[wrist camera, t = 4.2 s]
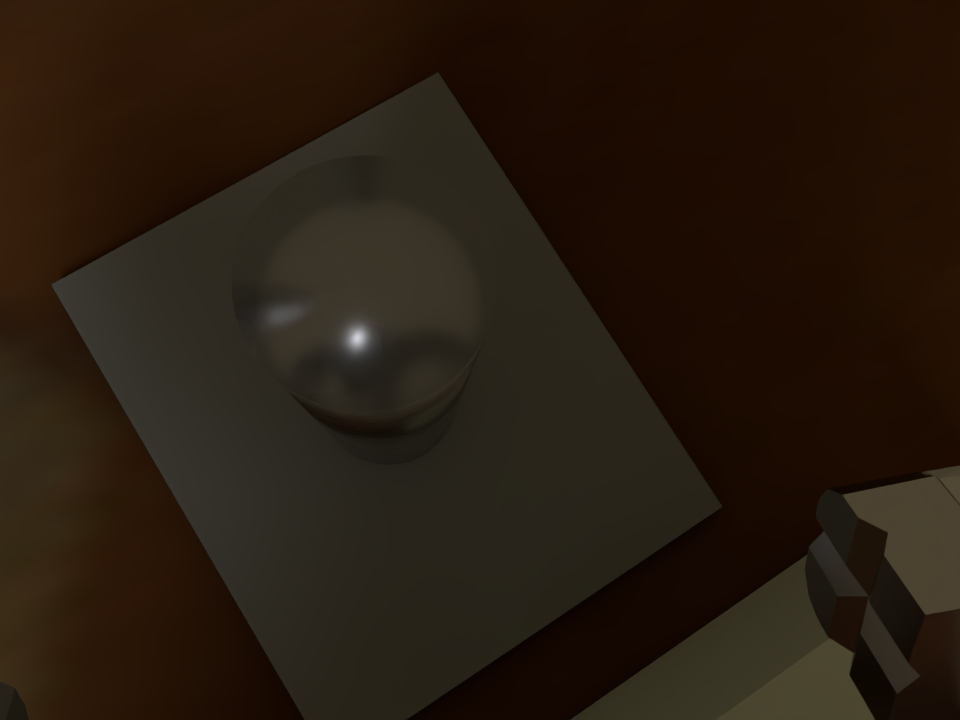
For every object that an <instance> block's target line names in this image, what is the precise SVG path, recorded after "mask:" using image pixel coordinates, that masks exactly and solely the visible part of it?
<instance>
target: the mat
mask: <svg viewBox="0 0 960 720" xmlns="http://www.w3.org/2000/svg"><path fill="white" fill-rule="evenodd" d="M360 155H368V156H382V157H388V158H393V159H398V160H401V161H405V162H408V163H411V164H414V165H416V166H418V167H421V168H423V169H425V170H427V171H429V172H431V173H432V174H434V175H436V176H437V177H439V178H441V179H442V180H444V181H445V182H446V183H447V184H448V185H450V186H451V187H452V188H453V189H455V190H456V191H457V192H458V193H459V194H460V195H461V196H462V197H463V198H464V199H465V200H466V202H467V203H468V204H469V205H470V207H471V208H472V209H473V211H474V212H475V213H476V215H477V216H478V218H479V220H480V222H481V224H482V225H483V227H484V229H485V231H486V234H487V236H488V239H489V241H490V244H491V247H492V251H493V255H494V259H495V266H496V275H497V290H496V300H495V306H494V312H493V315H492V318H491V321H490V325H489V328H488V330H487V333H486V336H485V338H484V341H483V343H482V346H481V349H480V351H479V354H478V356H477V359H476V362H475V364H474V367H473V369H472V372H471V374H470V377H469V380H468V382H467V385H466V387H465V390H464V393H463V395H462V398H461V400H460V403H459V406H458V408H457V411H456V413H455V416H454V419H453V421H452V423H451V425H450V428H449V430H448V431H447V433H446V434H445V436H444V437H443V438H442V440H441V441H440V442H439V443H438V444H437V445H436V446H435V447H434V448H433V449H432V450H430V451H429V452H427V453H426V454H424V455H423V456H421V457H419V458H417V459H414V460H412V461H409V462H405V463H401V464H391V465H389V464H377V463H372V462H369V461H365V460H363V459H361V458H358V457H356V456H354V455H353V454H351V453H350V452H348V451H347V450H346V449H345V448H343V447H342V446H341V445H340V444H339V443H338V442H337V441H336V440H335V439H334V438H333V437H332V436H331V435H330V434H329V433H328V432H327V431H326V430H325V429H324V428H323V427H322V426H321V425H320V424H319V423H318V422H317V421H316V420H315V419H314V418H313V417H312V416H311V415H310V414H309V413H308V412H307V411H306V410H305V409H304V408H303V407H302V406H301V405H300V404H299V403H298V402H297V401H296V400H295V399H294V398H293V397H292V396H291V394H290V393H289V392H288V391H287V390H286V389H285V388H284V387H283V386H282V385H281V384H280V383H279V382H278V381H277V380H276V379H275V378H274V377H273V376H272V375H271V374H270V373H269V372H268V371H267V370H266V369H265V368H264V367H263V366H262V365H261V363H260V362H259V361H258V360H257V358H256V357H255V355H254V354H253V352H252V351H251V350H250V348H249V346H248V344H247V342H246V341H245V339H244V337H243V335H242V333H241V330H240V327H239V324H238V321H237V318H236V315H235V310H234V305H233V300H232V285H231V281H232V268H233V262H234V257H235V253H236V248H237V246H238V243H239V240H240V237H241V235H242V232H243V231H244V229H245V227H246V225H247V223H248V221H249V219H250V217H251V216H252V215H253V213H254V212H255V210H256V209H257V208H258V206H259V205H260V204H261V203H262V201H263V200H264V199H265V198H266V197H267V196H268V195H269V194H270V193H271V192H272V191H273V190H274V189H276V188H277V187H278V186H279V185H280V184H281V183H283V182H284V181H285V180H287V179H289V178H290V177H292V176H293V175H295V174H296V173H298V172H300V171H302V170H304V169H306V168H308V167H310V166H313V165H315V164H318V163H321V162H324V161H327V160H331V159H336V158H341V157H346V156H360ZM51 285H52V287H53V289H54V290H55V292H56V294H57V296H58V297H59V299H60V301H61V302H62V304H63V306H64V308H65V309H66V311H67V313H68V314H69V316H70V318H71V320H72V321H73V323H74V325H75V326H76V328H77V330H78V332H79V333H80V335H81V337H82V338H83V340H84V342H85V344H86V345H87V347H88V349H89V350H90V352H91V354H92V356H93V357H94V359H95V361H96V362H97V364H98V366H99V368H100V369H101V371H102V373H103V375H104V376H105V378H106V380H107V381H108V383H109V385H110V387H111V388H112V390H113V392H114V393H115V395H116V397H117V399H118V400H119V402H120V404H121V405H122V407H123V409H124V411H125V412H126V414H127V416H128V417H129V419H130V421H131V423H132V424H133V426H134V428H135V429H136V431H137V433H138V435H139V436H140V438H141V440H142V441H143V443H144V445H145V447H146V448H147V450H148V452H149V453H150V455H151V457H152V459H153V460H154V462H155V464H156V466H157V467H158V469H159V471H160V472H161V474H162V476H163V478H164V479H165V481H166V483H167V484H168V486H169V488H170V490H171V491H172V493H173V495H174V496H175V498H176V500H177V502H178V503H179V505H180V507H181V508H182V510H183V512H184V514H185V515H186V517H187V519H188V520H189V522H190V524H191V526H192V527H193V529H194V531H195V532H196V534H197V536H198V538H199V539H200V541H201V543H202V545H203V546H204V548H205V550H206V551H207V553H208V555H209V557H210V558H211V560H212V562H213V563H214V565H215V567H216V569H217V570H218V572H219V574H220V575H221V577H222V579H223V581H224V582H225V584H226V586H227V587H228V589H229V591H230V593H231V594H232V596H233V598H234V599H235V601H236V603H237V605H238V606H239V608H240V610H241V611H242V613H243V615H244V617H245V618H246V620H247V622H248V624H249V625H250V627H251V629H252V630H253V632H254V634H255V636H256V637H257V639H258V641H259V642H260V644H261V646H262V648H263V649H264V651H265V653H266V654H267V656H268V658H269V660H270V661H271V663H272V665H273V666H274V668H275V670H276V672H277V673H278V675H279V677H280V678H281V680H282V682H283V684H284V685H285V687H286V689H287V690H288V692H289V694H290V696H291V697H292V699H293V701H294V703H295V704H296V706H297V708H298V709H299V711H300V713H301V715H302V716H303V718H304V720H407V719H408V718H410V717H411V716H413V715H414V714H416V713H417V712H419V711H420V710H422V709H423V708H425V707H426V706H427V705H429V704H430V703H432V702H433V701H435V700H436V699H438V698H439V697H441V696H442V695H444V694H445V693H447V692H448V691H450V690H451V689H453V688H454V687H456V686H457V685H459V684H460V683H462V682H463V681H465V680H466V679H468V678H469V677H471V676H472V675H473V674H475V673H476V672H478V671H479V670H481V669H482V668H484V667H485V666H487V665H488V664H490V663H491V662H493V661H494V660H496V659H497V658H499V657H500V656H502V655H503V654H505V653H506V652H508V651H509V650H511V649H512V648H514V647H515V646H517V645H518V644H519V643H521V642H522V641H524V640H525V639H527V638H528V637H530V636H531V635H533V634H534V633H536V632H537V631H539V630H540V629H542V628H543V627H545V626H546V625H548V624H549V623H551V622H552V621H554V620H555V619H557V618H558V617H560V616H561V615H563V614H564V613H565V612H567V611H568V610H570V609H571V608H573V607H574V606H576V605H577V604H579V603H580V602H582V601H583V600H585V599H586V598H588V597H589V596H591V595H592V594H594V593H595V592H597V591H598V590H600V589H601V588H603V587H604V586H606V585H607V584H609V583H610V582H611V581H613V580H614V579H616V578H617V577H619V576H620V575H622V574H623V573H625V572H626V571H628V570H629V569H631V568H632V567H634V566H635V565H637V564H638V563H640V562H641V561H643V560H644V559H646V558H647V557H649V556H650V555H652V554H653V553H654V552H656V551H657V550H659V549H660V548H662V547H663V546H665V545H666V544H668V543H669V542H671V541H672V540H674V539H675V538H677V537H678V536H680V535H681V534H683V533H684V532H686V531H687V530H689V529H690V528H692V527H693V526H695V525H696V524H698V523H699V522H700V521H702V520H703V519H705V518H706V517H708V516H709V515H711V514H712V513H714V512H715V511H717V510H718V509H720V508H721V507H722V505H721V504H720V502H719V501H718V499H717V498H716V496H715V494H714V493H713V491H712V490H711V488H710V487H709V485H708V484H707V482H706V481H705V479H704V478H703V476H702V475H701V473H700V472H699V470H698V469H697V467H696V465H695V464H694V462H693V461H692V459H691V458H690V456H689V455H688V453H687V452H686V450H685V449H684V447H683V446H682V444H681V443H680V441H679V439H678V438H677V436H676V435H675V433H674V432H673V430H672V429H671V427H670V426H669V424H668V423H667V421H666V420H665V418H664V417H663V415H662V413H661V412H660V410H659V409H658V407H657V406H656V404H655V403H654V401H653V400H652V398H651V397H650V395H649V394H648V392H647V391H646V389H645V387H644V386H643V384H642V383H641V381H640V380H639V378H638V377H637V375H636V374H635V372H634V371H633V369H632V368H631V366H630V365H629V363H628V362H627V360H626V358H625V357H624V355H623V354H622V352H621V351H620V349H619V348H618V346H617V345H616V343H615V342H614V340H613V339H612V337H611V336H610V334H609V332H608V331H607V329H606V328H605V326H604V325H603V323H602V322H601V320H600V319H599V317H598V316H597V314H596V313H595V311H594V310H593V308H592V306H591V305H590V303H589V302H588V300H587V299H586V297H585V296H584V294H583V293H582V291H581V290H580V288H579V287H578V285H577V284H576V282H575V280H574V279H573V277H572V276H571V274H570V273H569V271H568V270H567V268H566V267H565V265H564V264H563V262H562V261H561V259H560V258H559V256H558V254H557V253H556V251H555V250H554V248H553V247H552V245H551V244H550V242H549V241H548V239H547V238H546V236H545V235H544V233H543V232H542V230H541V229H540V227H539V225H538V224H537V222H536V221H535V219H534V218H533V216H532V215H531V213H530V212H529V210H528V209H527V207H526V206H525V204H524V203H523V201H522V199H521V198H520V196H519V195H518V193H517V192H516V190H515V189H514V187H513V186H512V184H511V183H510V181H509V180H508V178H507V177H506V175H505V173H504V172H503V170H502V169H501V167H500V166H499V164H498V163H497V161H496V160H495V158H494V157H493V155H492V154H491V152H490V151H489V149H488V147H487V146H486V144H485V143H484V141H483V140H482V138H481V137H480V135H479V134H478V132H477V131H476V129H475V128H474V126H473V125H472V123H471V121H470V120H469V118H468V117H467V115H466V114H465V112H464V111H463V109H462V108H461V106H460V105H459V103H458V102H457V100H456V99H455V97H454V96H453V94H452V92H451V91H450V89H449V88H448V86H447V85H446V83H445V82H444V80H443V79H442V77H441V76H440V74H439V73H436V74H434V75H432V76H430V77H429V78H427V79H425V80H423V81H421V82H419V83H418V84H416V85H414V86H412V87H410V88H408V89H407V90H405V91H403V92H401V93H399V94H398V95H396V96H394V97H392V98H390V99H388V100H387V101H385V102H383V103H381V104H379V105H378V106H376V107H374V108H372V109H370V110H368V111H367V112H365V113H363V114H361V115H359V116H357V117H356V118H354V119H352V120H350V121H348V122H347V123H345V124H343V125H341V126H339V127H337V128H336V129H334V130H332V131H330V132H328V133H327V134H325V135H323V136H321V137H319V138H317V139H316V140H314V141H312V142H310V143H308V144H306V145H305V146H303V147H301V148H299V149H297V150H296V151H294V152H292V153H290V154H288V155H286V156H285V157H283V158H281V159H279V160H277V161H276V162H274V163H272V164H270V165H268V166H266V167H265V168H263V169H261V170H259V171H257V172H255V173H254V174H252V175H250V176H248V177H246V178H245V179H243V180H241V181H239V182H237V183H235V184H234V185H232V186H230V187H228V188H226V189H225V190H223V191H221V192H219V193H217V194H215V195H214V196H212V197H210V198H208V199H206V200H204V201H203V202H201V203H199V204H197V205H195V206H194V207H192V208H190V209H188V210H186V211H184V212H183V213H181V214H179V215H177V216H175V217H174V218H172V219H170V220H168V221H166V222H164V223H163V224H161V225H159V226H157V227H155V228H153V229H152V230H150V231H148V232H146V233H144V234H143V235H141V236H139V237H137V238H135V239H133V240H132V241H130V242H128V243H126V244H124V245H123V246H121V247H119V248H117V249H115V250H113V251H112V252H110V253H108V254H106V255H104V256H102V257H101V258H99V259H97V260H95V261H93V262H92V263H90V264H88V265H86V266H84V267H82V268H81V269H79V270H77V271H75V272H73V273H72V274H70V275H68V276H66V277H64V278H62V279H61V280H59V281H57V282H55V283H53V284H51Z"/></svg>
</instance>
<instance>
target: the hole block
mask: <svg viewBox="0 0 960 720" xmlns="http://www.w3.org/2000/svg"><path fill="white" fill-rule="evenodd" d="M806 559H807V555H806V556H804V557H803V558H802V559H800V560H799V561H797V562H796V563H794V564H793V565H792V566H790V567H789V568H787V569H786V570H784V571H783V572H781V573H780V574H779V575H777V576H776V577H774V578H773V579H771V580H770V581H769V582H767V583H766V584H764V585H763V586H761V587H760V588H758V589H757V590H756V591H754V592H753V593H751V594H750V595H748V596H747V597H746V598H744V599H743V600H741V601H740V602H738V603H737V604H736V605H734V606H733V607H731V608H730V609H728V610H727V611H725V612H724V613H723V614H721V615H720V616H718V617H717V618H715V619H714V620H713V621H711V622H710V623H708V624H707V625H705V626H704V627H703V628H701V629H700V630H698V631H697V632H695V633H694V634H692V635H691V636H690V637H688V638H687V639H685V640H684V641H682V642H681V643H680V644H678V645H677V646H675V647H674V648H672V649H671V650H669V651H668V652H667V653H665V654H664V655H662V656H661V657H659V658H658V659H657V660H655V661H654V662H652V663H651V664H649V665H648V666H647V667H645V668H644V669H642V670H641V671H639V672H638V673H636V674H635V675H634V676H632V677H631V678H629V679H628V680H626V681H625V682H624V683H622V684H621V685H619V686H618V687H616V688H615V689H614V690H612V691H611V692H609V693H608V694H606V695H605V696H603V697H602V698H601V699H599V700H598V701H596V702H595V703H593V704H592V705H591V706H589V707H588V708H586V709H585V710H583V711H582V712H580V713H579V714H578V715H576V716H575V717H573V718H572V719H570V720H875V719H874V717H873V715H872V714H871V712H870V710H869V708H868V707H867V705H866V703H865V701H864V700H863V698H862V696H861V695H860V693H859V691H858V689H857V688H856V686H855V684H854V682H853V681H852V679H851V677H850V675H849V673H850V667H851V662H852V656H853V653H852V652H851V651H849V650H848V649H846V648H845V647H843V646H841V645H840V644H838V643H837V642H835V641H833V640H832V639H830V638H829V637H827V635H826V633H825V631H824V629H823V627H822V626H821V624H820V622H819V620H818V618H817V616H816V614H815V611H814V609H813V606H812V603H811V601H810V598H809V595H808V588H807V581H806V575H805V565H806Z"/></svg>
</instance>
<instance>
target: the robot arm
mask: <svg viewBox="0 0 960 720" xmlns="http://www.w3.org/2000/svg"><path fill="white" fill-rule="evenodd" d="M815 517H816V519H817V520H818V522H819V523H820V525H821V527H822V528H823V530H824V532H823V533H822V534H821V535H820V536H819V537H818V538H817V539H816V540H815V541H814V542H813V543H812V544H811V545H810V546H809V547H808V553H807V559H806V565H805V575H806V581H807V588H808V595H809V598H810V601H811V603H812V606H813V609H814V611H815V614H816V616H817V618H818V620H819V622H820V624H821V626H822V627H823V629H824V631H825V633H826V635H827V637H829V638H830V639H832V640H833V641H835V642H837V643H838V644H840V645H841V646H843V647H845V648H846V649H848V650H849V651H851V652H852V653H853V656H852V662H851V667H850V673H849V675H850V677H851V679H852V681H853V682H854V684H855V686H856V688H857V689H858V691H859V693H860V695H861V696H862V698H863V700H864V701H865V703H866V705H867V707H868V708H869V710H870V712H871V714H872V715H873V717H874V719H875V720H960V466H954V467H948V468H943V469H937V470H931V471H925V472H922V473H917V472H916V473H910V474H905V475H900V476H894V477H889V478H883V479H878V480H873V481H867V482H862V483H857V484H851V485H846V486H840V487H835V488H830V489H827V490H826V491H825V492H824V493H823V495H822V496H821V497H820V498H819V502H818V506H817V510H816V515H815ZM0 720H29V719H28V716H27V712H26V709H25V705H24V703H23V701H22V699H21V698H20V696H19V695H18V693H17V691H16V690H15V688H13V687H11V686H9V685H6V684H4V683H2V682H0Z"/></svg>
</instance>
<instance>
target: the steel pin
mask: <svg viewBox="0 0 960 720" xmlns="http://www.w3.org/2000/svg"><path fill="white" fill-rule="evenodd" d="M231 285H232V300H233V305H234V310H235V315H236V318H237V321H238V324H239V327H240V330H241V333H242V335H243V337H244V339H245V341H246V342H247V344H248V346H249V348H250V350H251V351H252V352H253V354H254V355H255V357H256V358H257V360H258V361H259V362H260V363H261V365H262V366H263V367H264V368H265V369H266V370H267V371H268V372H269V373H270V374H271V375H272V376H273V377H274V378H275V379H276V380H277V381H278V382H279V383H280V384H281V385H282V386H283V387H284V388H285V389H286V390H287V391H288V392H289V393H290V394H291V396H292V397H293V398H294V399H295V400H296V401H297V402H298V403H299V404H300V405H301V406H302V407H303V408H304V409H305V410H306V411H307V412H308V413H309V414H310V415H311V416H312V417H313V418H314V419H315V420H316V421H317V422H318V423H319V424H320V425H321V426H322V427H323V428H324V429H325V430H326V431H327V432H328V433H329V434H330V435H331V436H332V437H333V438H334V439H335V440H336V441H337V442H338V443H339V444H340V445H341V446H342V447H343V448H345V449H346V450H347V451H348V452H350V453H351V454H353V455H354V456H356V457H358V458H361V459H363V460H365V461H369V462H372V463H377V464H389V465H391V464H401V463H405V462H409V461H412V460H414V459H417V458H419V457H421V456H423V455H424V454H426V453H427V452H429V451H430V450H432V449H433V448H434V447H435V446H436V445H437V444H438V443H439V442H440V441H441V440H442V438H443V437H444V436H445V434H446V433H447V431H448V430H449V428H450V425H451V423H452V421H453V419H454V416H455V413H456V411H457V408H458V406H459V403H460V400H461V398H462V395H463V393H464V390H465V387H466V385H467V382H468V380H469V377H470V374H471V372H472V369H473V367H474V364H475V362H476V359H477V356H478V354H479V351H480V349H481V346H482V343H483V341H484V338H485V336H486V333H487V330H488V328H489V325H490V321H491V318H492V315H493V312H494V306H495V300H496V290H497V275H496V266H495V259H494V255H493V251H492V247H491V244H490V241H489V239H488V236H487V234H486V231H485V229H484V227H483V225H482V224H481V222H480V220H479V218H478V216H477V215H476V213H475V212H474V211H473V209H472V208H471V207H470V205H469V204H468V203H467V202H466V200H465V199H464V198H463V197H462V196H461V195H460V194H459V193H458V192H457V191H456V190H455V189H453V188H452V187H451V186H450V185H448V184H447V183H446V182H445V181H444V180H442V179H441V178H439V177H437V176H436V175H434V174H432V173H431V172H429V171H427V170H425V169H423V168H421V167H418V166H416V165H414V164H411V163H408V162H405V161H401V160H398V159H393V158H388V157H382V156H368V155H360V156H346V157H341V158H336V159H331V160H327V161H324V162H321V163H318V164H315V165H313V166H310V167H308V168H306V169H304V170H302V171H300V172H298V173H296V174H295V175H293V176H292V177H290V178H289V179H287V180H285V181H284V182H283V183H281V184H280V185H279V186H278V187H277V188H276V189H274V190H273V191H272V192H271V193H270V194H269V195H268V196H267V197H266V198H265V199H264V200H263V201H262V203H261V204H260V205H259V206H258V208H257V209H256V210H255V212H254V213H253V215H252V216H251V217H250V219H249V221H248V223H247V225H246V227H245V229H244V231H243V232H242V235H241V237H240V240H239V243H238V246H237V248H236V253H235V257H234V262H233V268H232V281H231Z"/></svg>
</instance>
